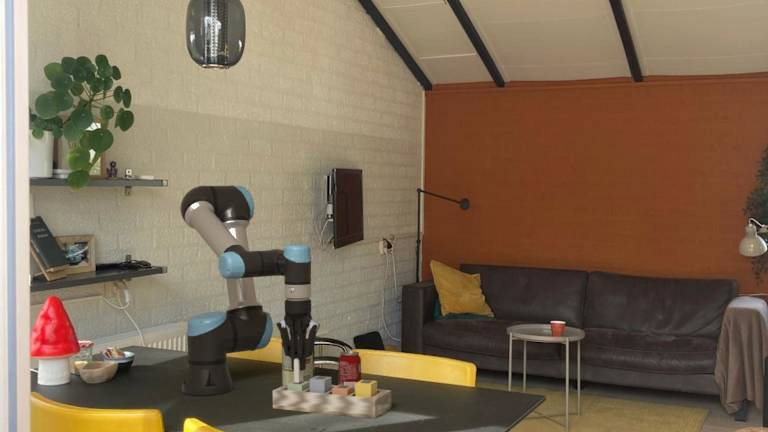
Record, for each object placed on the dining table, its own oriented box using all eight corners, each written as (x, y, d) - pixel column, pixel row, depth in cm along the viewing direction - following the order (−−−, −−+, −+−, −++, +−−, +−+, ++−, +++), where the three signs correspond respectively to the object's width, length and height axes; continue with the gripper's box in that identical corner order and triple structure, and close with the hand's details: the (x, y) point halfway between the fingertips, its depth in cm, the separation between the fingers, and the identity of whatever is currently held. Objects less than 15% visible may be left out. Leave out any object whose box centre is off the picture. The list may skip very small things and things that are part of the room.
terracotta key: (332, 406, 234) (332, 387, 234) (339, 402, 239) (339, 384, 238) (347, 407, 233) (347, 388, 232) (354, 403, 237) (354, 385, 237)
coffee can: (292, 381, 270) (292, 337, 270) (321, 384, 266) (320, 340, 265) (275, 388, 261) (275, 343, 260) (304, 391, 256) (304, 345, 256)
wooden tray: (272, 408, 237) (272, 390, 237) (292, 398, 248) (292, 381, 248) (374, 418, 226) (374, 400, 225) (391, 408, 237) (391, 390, 237)
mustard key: (355, 401, 232) (355, 382, 231) (362, 397, 236) (361, 379, 236) (370, 402, 230) (370, 383, 230) (377, 398, 234) (377, 380, 234)
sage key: (287, 401, 239) (287, 383, 239) (295, 397, 244) (295, 379, 244) (302, 403, 238) (301, 384, 238) (309, 399, 242) (309, 381, 242)
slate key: (309, 396, 237) (309, 378, 237) (317, 393, 241) (316, 375, 241) (324, 398, 235) (324, 379, 235) (331, 394, 239) (331, 376, 239)
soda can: (358, 395, 252) (358, 355, 251) (336, 394, 253) (336, 354, 253) (363, 390, 258) (363, 351, 258) (341, 389, 260) (341, 350, 259)
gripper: (271, 299, 239) (272, 382, 239) (312, 301, 234) (313, 386, 235) (283, 296, 246) (284, 377, 246) (324, 298, 241) (325, 380, 242)
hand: (298, 381), depth 240 cm, fingers closed
